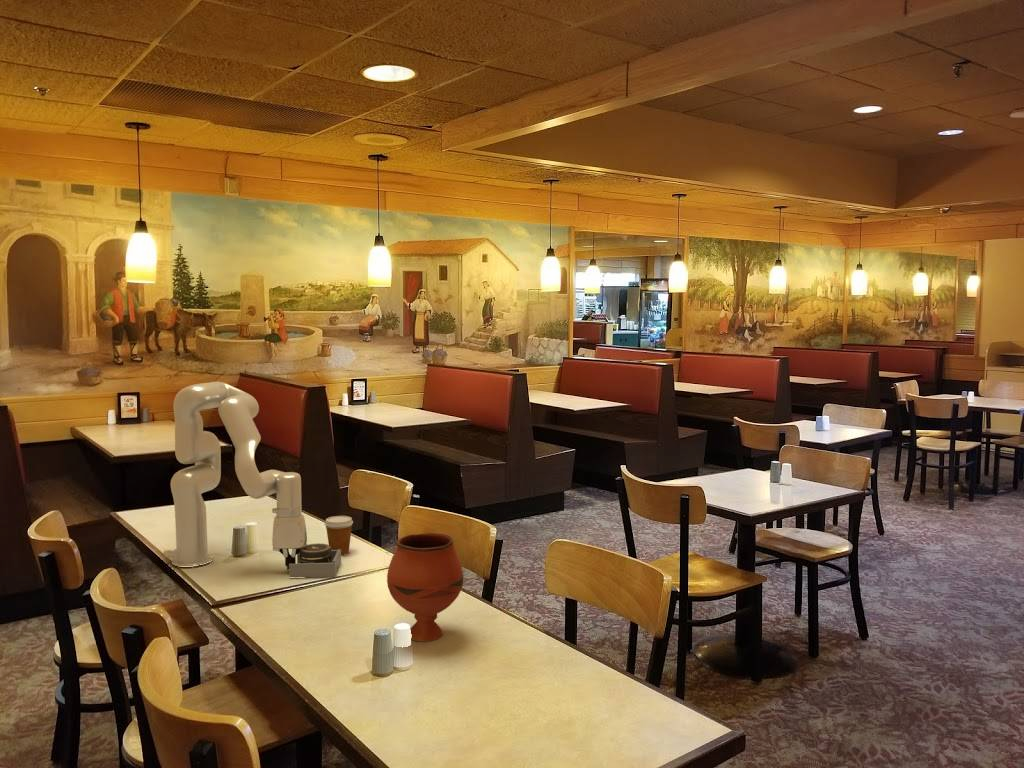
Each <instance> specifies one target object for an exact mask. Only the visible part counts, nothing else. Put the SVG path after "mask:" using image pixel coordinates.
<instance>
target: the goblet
mask: <svg viewBox="0 0 1024 768" xmlns="http://www.w3.org/2000/svg"><path fill="white" fill-rule="evenodd" d="M454 541H455V540H454V537H452V536H450V535H447V534H443V533H437V532H436V533H435V532H434V533H433V532H429V533H420V534H408V535H405V536H402V537H400V538H399V539H398V540H397V541H396V548H395V550H394V553H393V555H392V557H391V560H390V563H389V565H388V569H387V576H386V583H387V588H388V591H389V593H390V596H391V597H392V599H393V600H394V602H396V604H398V605H399V606H400V607H401V608H402V609H404V610H405V611H406V612H409V613H411V614H412V615H414V619H415V620H416V622H415V623H414V624H413V625H412V626H411V627H410V629H411V634H412V639H411V640H412V641H414V642H415V641H416V642H431V641H435V640H438V639H440V638H441V637H442V635H444V634H443V630H442V629H441V627H440V626H439V624H438V623H437V622H436V620H437V619H438V614H440V613H441V612H443V611H446V609H447V608H449V607H450V606H451V605H452V604H453V603H454V601H456V599H457V598H458V596H459V595H460V593H461V591H462V588H463V587H464V586H463V585H464V574H463V573H464V571H463V568H462V563H461V560H460V557H459V555H458V553H457V551H456V547H455V545H454Z"/></svg>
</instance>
